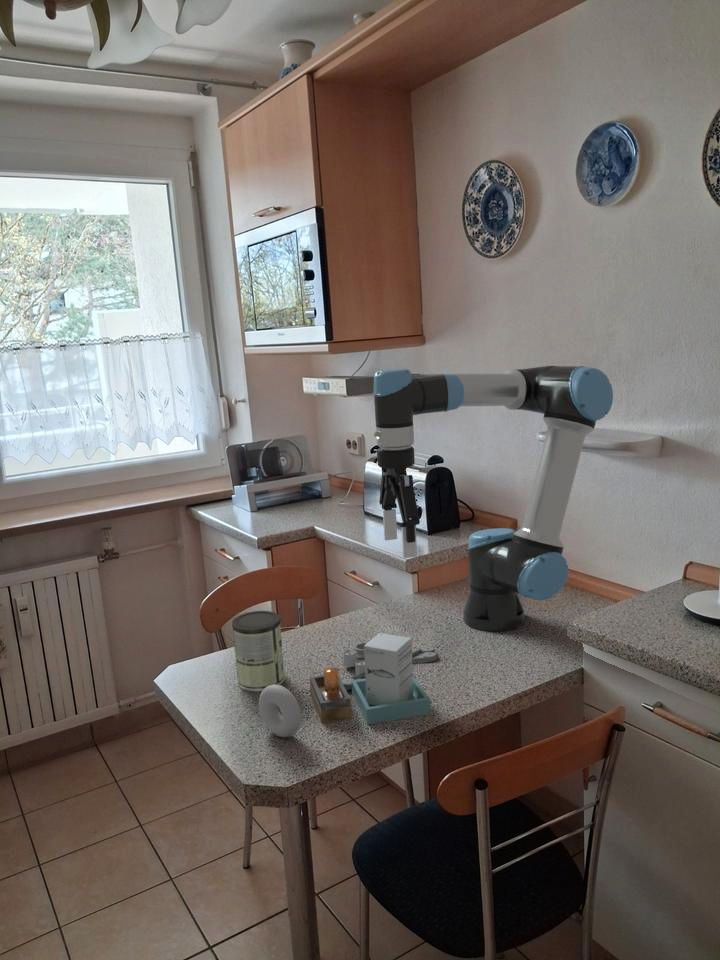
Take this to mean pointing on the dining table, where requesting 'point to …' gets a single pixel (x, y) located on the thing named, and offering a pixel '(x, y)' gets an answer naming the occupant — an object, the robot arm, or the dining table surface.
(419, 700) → the tray
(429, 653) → the pulley system
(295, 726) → the donut
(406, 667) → the supplement box
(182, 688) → the dining table surface
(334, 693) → the copper rounded cylinder
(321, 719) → the base
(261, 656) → the coffee can
